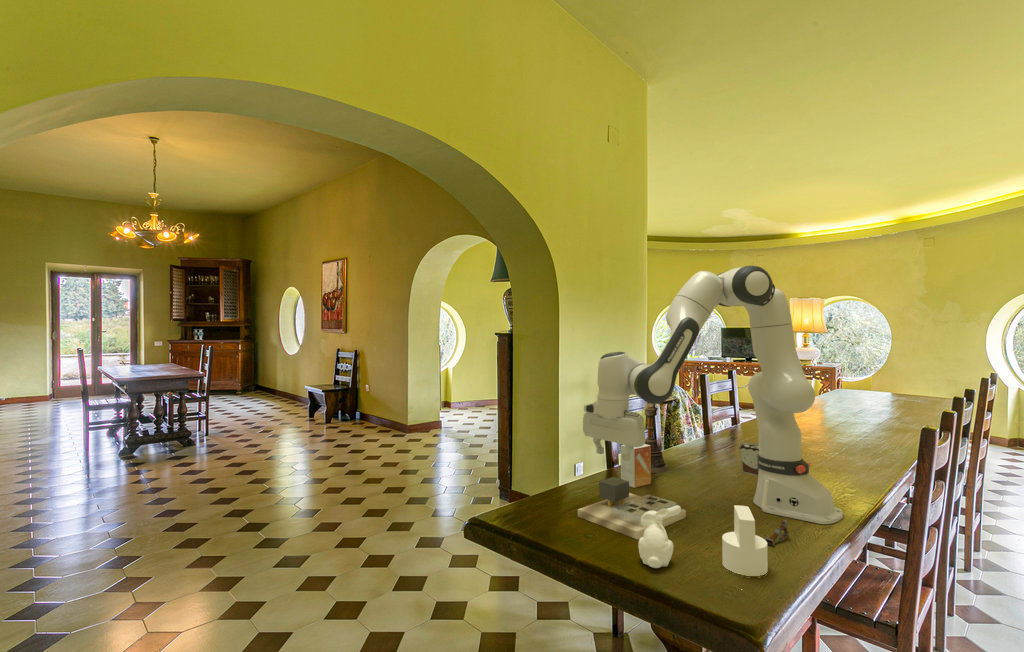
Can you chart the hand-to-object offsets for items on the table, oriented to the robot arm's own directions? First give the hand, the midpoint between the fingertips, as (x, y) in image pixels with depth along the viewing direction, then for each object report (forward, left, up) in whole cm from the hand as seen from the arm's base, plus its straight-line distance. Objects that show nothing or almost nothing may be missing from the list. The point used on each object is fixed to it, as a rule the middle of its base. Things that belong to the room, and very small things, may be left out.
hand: (612, 456), depth 144 cm
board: (-6, 0, -16) cm, 17 cm away
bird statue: (+16, -45, -16) cm, 50 cm away
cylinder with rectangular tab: (-40, +5, -16) cm, 43 cm away
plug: (0, -1, -14) cm, 14 cm away
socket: (-11, 0, -14) cm, 17 cm away
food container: (-11, -67, -16) cm, 70 cm away
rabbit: (-25, +16, -16) cm, 34 cm away
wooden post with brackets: (-39, -14, -16) cm, 45 cm away
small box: (+11, -25, -16) cm, 32 cm away
